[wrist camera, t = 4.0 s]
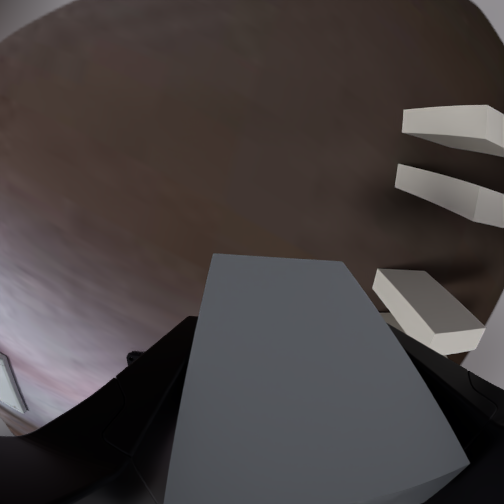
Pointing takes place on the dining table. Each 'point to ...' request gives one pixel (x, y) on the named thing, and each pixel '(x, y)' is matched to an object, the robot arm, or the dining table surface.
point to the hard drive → (9, 387)
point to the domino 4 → (428, 311)
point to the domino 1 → (303, 396)
